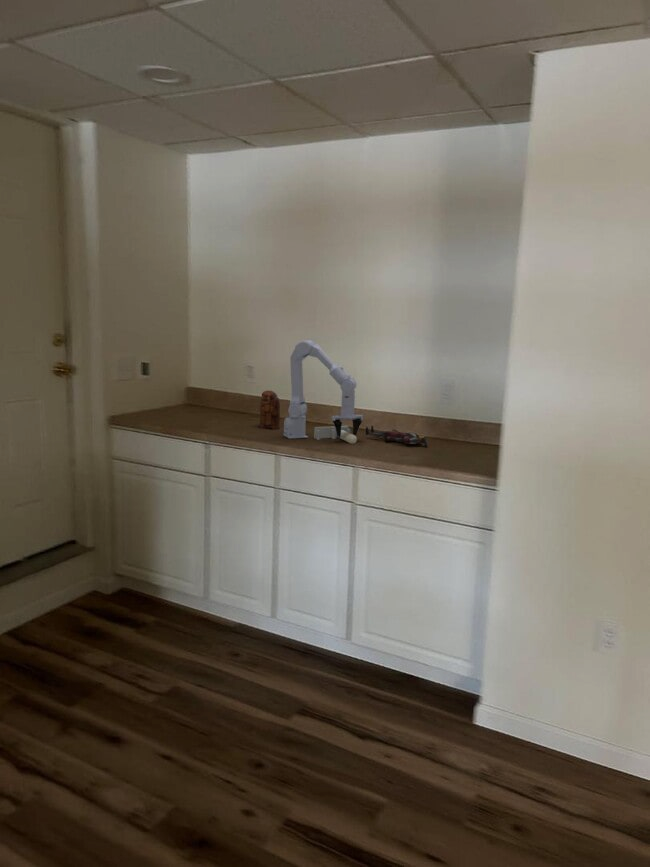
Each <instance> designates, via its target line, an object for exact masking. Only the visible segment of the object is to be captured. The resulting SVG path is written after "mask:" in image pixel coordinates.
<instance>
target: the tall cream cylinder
mask: <svg viewBox="0 0 650 867" xmlns="http://www.w3.org/2000/svg"><path fill="white" fill-rule="evenodd" d="M337 438H339V439H341V440H343V441H345V442H347V443H348V444H352V445H353V444H356V443H357V441H358V438H357V435H356V436H355V435H353V433H351V432H350V433H349V432H346V431H344V430H341V436H340V437H339V436H338V437H337Z"/></svg>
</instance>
